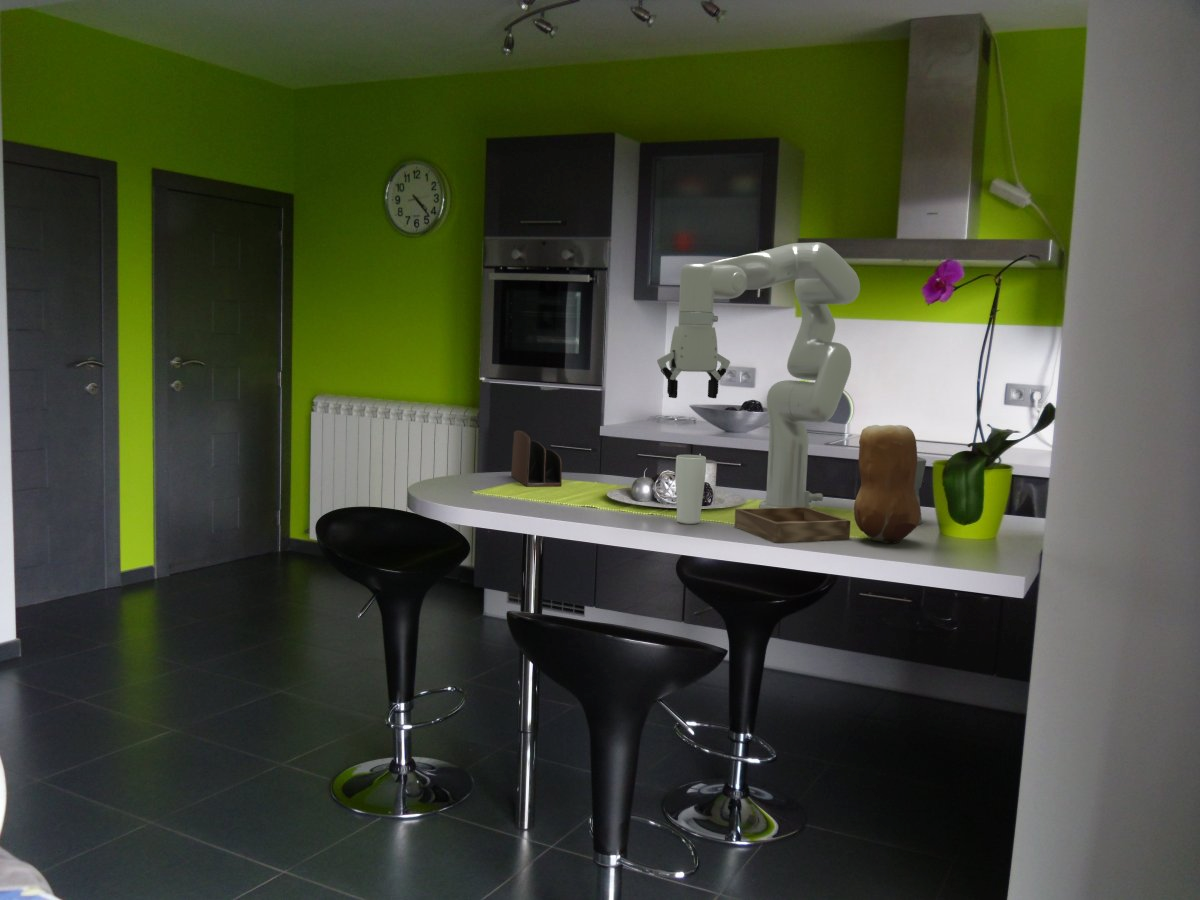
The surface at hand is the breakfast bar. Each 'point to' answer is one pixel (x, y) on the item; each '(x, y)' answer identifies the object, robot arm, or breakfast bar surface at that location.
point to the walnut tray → (792, 524)
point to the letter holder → (535, 463)
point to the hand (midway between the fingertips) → (692, 397)
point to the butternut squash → (887, 483)
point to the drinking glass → (690, 487)
